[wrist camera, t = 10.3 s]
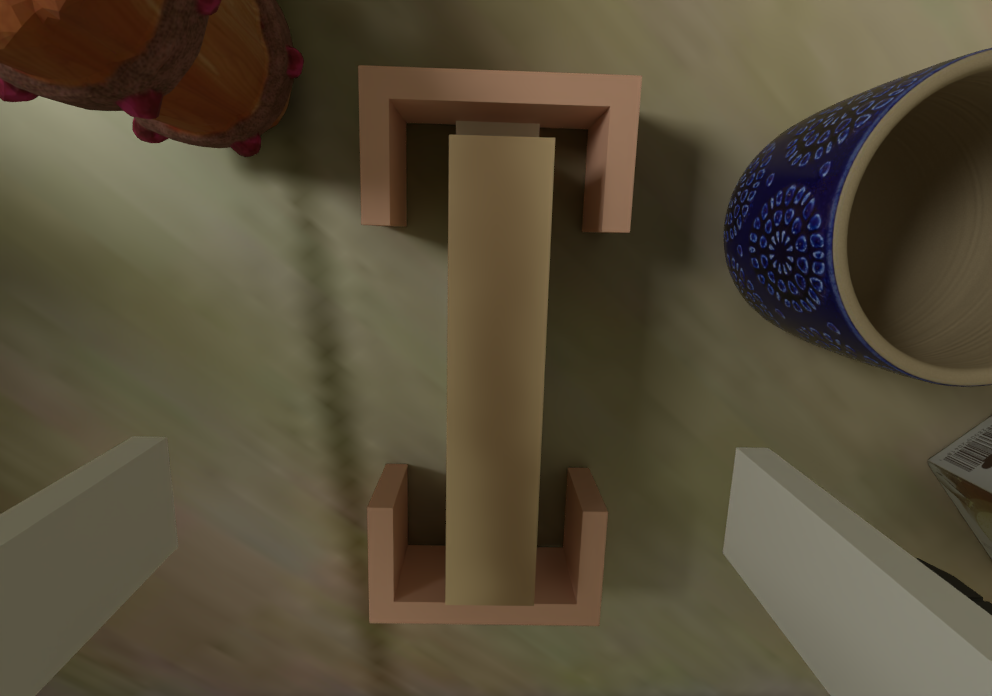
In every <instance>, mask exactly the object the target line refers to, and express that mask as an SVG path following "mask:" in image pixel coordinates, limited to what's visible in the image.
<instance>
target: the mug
mask: <svg viewBox="0 0 992 696" xmlns="http://www.w3.org/2000/svg"><path fill="white" fill-rule="evenodd" d="M303 63H304V59H303V56H302V54H301V53H300V52H299V51H298V50H297V49H295V48H293V44H292V39H291V35H290V30H289V27H288V24H287V22H286V19H285V17H284V14H283V12H282V10H281V8H280V6H279V5H278V3H277V1H276V0H0V98H1V99H2V100H3V101H7V102H21V101H30V100H33V99H35V98H36V97H38V96H41V97H45V98H48V99H52V100H55V101H58V102H62V103H65V104H68V105H72V106H76V107H80V108H84V109H88V110H100V111H125V112H126V113H127V114H129V115H130V116H132V117H134V120H133V132H134V133H135V135H136V136H137V138H139V139H140V140H142V141H145V142H149V143H160V142H163V141H165V140H166V139H168V138H170V139H173V140H176V141H179V142H183V143H186V144H190V145H196V146H202V147H211V148H228V147H231V148H232V149H233V150H234V151H236V152H237V153H238V154H239V155H241V156H244V157H250V156H253V155H255V154H257V153H259V150H260V148H261V137H260V136H261V135H262V134H263V133H265V132H266V131H267V130H268V129H270V128H272V127H274V126H276V125H277V124H278V123H279V121H280V120H281V118H282V116H283V115H284V113H285V112H286V109H287V107H288V103H289V99H290V94H291V89H292V84H293V81H294V78H297V77H298V76H299V75H300V74H301V72H302V68H303Z"/></svg>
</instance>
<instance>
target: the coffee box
mask: <svg viewBox="0 0 992 696" xmlns="http://www.w3.org/2000/svg"><path fill="white" fill-rule="evenodd" d="M928 464H929V466H930V468H931V469H932V471H933V472H934V474H935V476H936V477H937V479H938V480H939V482H940V483H941V485H942V486H943V488H944V489H945V491H946V492H947V494H948V495H949V497H950V498H951V499H952V501H953V502H954V504H955V505H956V507H957V508H958V510H959V511H960V513H961V514H962V516H963V517H964V519H965V520H966V522H967V523H968V525H969V526H970V528H971V529H972V531H973V532H974V534H975V535H976V537H977V538H978V540H979V541H980V543H981V544H982V545H983V547H984V548H985V550H986V551H987V553H988V554H989V556H990V557H991V559H992V416H990V417H989V418H988V419H986V420H985V421H983V422H982V423H980V424H979V425H978V426H976V427H975V428H973V429H972V430H970V431H969V432H968V433H966V434H965V435H963V436H962V437H960V438H959V439H958V440H956V441H955V442H953V443H952V444H950V445H949V446H948V447H946V448H945V449H943V450H942V451H940V452H939V453H937V454H936V455H935V456H933V457H932V458H930V459H929V460H928Z"/></svg>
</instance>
